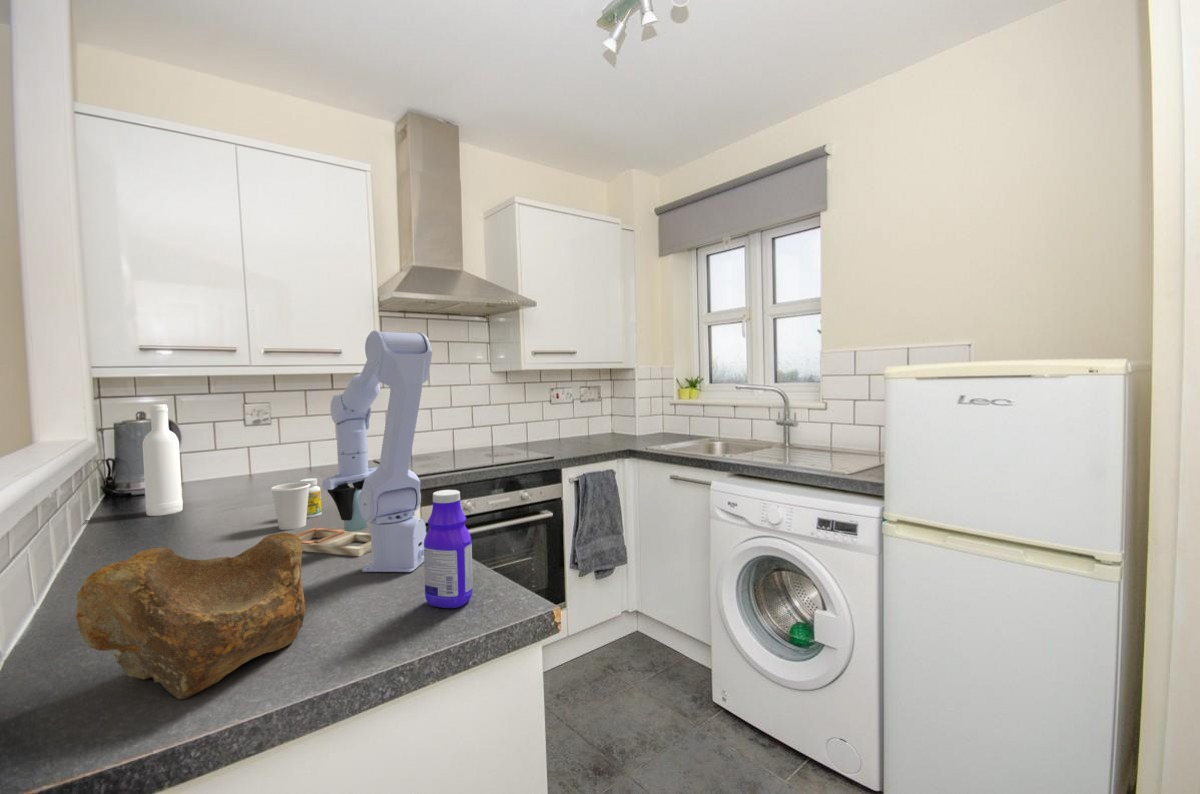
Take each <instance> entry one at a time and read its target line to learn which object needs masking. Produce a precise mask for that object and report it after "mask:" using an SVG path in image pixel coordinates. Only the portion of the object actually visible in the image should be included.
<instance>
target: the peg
mask: <svg viewBox="0 0 1200 794" xmlns="http://www.w3.org/2000/svg"><path fill="white" fill-rule="evenodd" d="M361 490H362V488H357V489H356V491H355V494H354V498H353V513H352V520H349V521H347V520H343V526H344V527H343V530H345V531H347V532H358V531H359V532H360V531H362V530H365V529H367V528H368V521H367V520H365V519H364V518H363V517H362V515H361V513H360V510H359V505H358V498H359V494H360V492H361Z"/></svg>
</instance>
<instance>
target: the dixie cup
mask: <svg viewBox="0 0 1200 794" xmlns="http://www.w3.org/2000/svg"><path fill="white" fill-rule="evenodd" d="M309 486H310V484H309V483H300V482H292V483H291V482H290V483H283V484H278V485H274V486H272V487H271V488H270V491H271V494H272V499H273V504H274V509H275V510H274V511H275V516H276V520H277V525H278V529H279V530H281V531H282V530H283V531H287V530H288V531H290V530H296V529H300V528H303V527H306V526H307V519H308V518H307V507H308V495H309Z"/></svg>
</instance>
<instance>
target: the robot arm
mask: <svg viewBox="0 0 1200 794" xmlns="http://www.w3.org/2000/svg"><path fill="white" fill-rule="evenodd" d="M364 345H365V346H364V350H365V351H364V352H365V357H366V362H365V364H364V365H363V369H362V371H361V373H358V374H355V375H353V377H351V379H350V381H349V383H348V384H347V386H346V387H345V389H344V390H343V393H341V394H335V395H333V396H332V399H331V400H330V410H329V411H330V416H331V420H332V422H333V424H335V426H336V430H335V431H336V447H337V448H336V451H337V473H335V475H333V476H331V477H328V478H325V479H322V480H321V482H322V484H321V485H322V490H326V491H327V494H329V496H330V497H331V498H332V500H333V502H334V503H335V506H336V508H337V511H338V513H339V517H340V519H341V521H344V520H347V521H349V520H352V513H353V498H354V494H355V491H356V489H357V488H362V490H361V492H360V494H359V498H358V505H359V510H360V513H361V515H362V517H363V518H364V519H365V520H367V522H370V523H369V524H370V526H369V529H370V533H371V551H370V553H371V562H370V563H369V564H367V565H365V566H364V567H363V568H362V569H361V571H362V573H411V572H413V571H415V569H417V568H418V567H419V566H420V565H421V564H424V539H425V536H426V534H427V527H426V526H427V525H426V523H425V521H424V519H423V518H418V517H417V518H416V517H415V515H416V514H415V512H416V511H418V509H419V508H420V505H421V499H422V494H421V480H420V478H419V477H418V475H417V474H416V473H415V472H414V471H412V470H411V469H410V463H411V458H412V452H413V451H412V450H413V446H414V445H413V444H414V438H415V433H416V426H417V421H418V416H419V414H418V413H419V409H420V403H421V399H422V398H421V397H422V391H423V385H424V383H426V382H427V381H428V380H429V374H430V369H431V363H432V356H433V349H432V346H431V343H430V340H429V338H428V336H427V335H426V334H425V333H423V332H416V333H415V332H413V333H412V332H393V331H378V330H372V331H371V332H370V333H369V334H368V336H367V337H366V339H365V343H364ZM380 383H382V384H384V385H386V386H388V387H389V390H390V391H389V399H388V402H387V403H388V405H387V412H386V418H385V426H384V431H383V439H382V445H381V446H382V447H381V453H380V459H379V465H378V467H371V468H369V455H368V453H369V452H368V435H367V434H368V430H369V427H370V418H371V416H372V415H371V414H372V408H371V406H372V404H373V403H374V401H375V400H376V399H377V397H378V395H379V394H380V392H381V384H380ZM351 484H352V486H353V487H351V486H350V485H351Z"/></svg>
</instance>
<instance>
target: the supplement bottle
mask: <svg viewBox="0 0 1200 794" xmlns="http://www.w3.org/2000/svg"><path fill="white" fill-rule="evenodd" d="M299 483H309V484H310V486H309V495H308V507H307V518H306V519H309V518H311V519H312V518H315V517H316V518H317V517H319V516H321V515H322V514H323V508H322V492H321V489H322V488H321V487H320V486H318V485H317V484H318V478H316V477H314V478H313V477H311V478H304V479H300V480H299Z"/></svg>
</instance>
